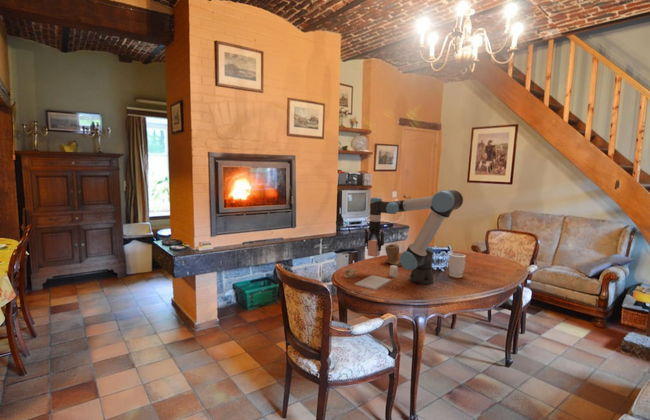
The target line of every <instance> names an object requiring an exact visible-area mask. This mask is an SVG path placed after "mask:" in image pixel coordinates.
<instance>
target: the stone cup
mask: <svg viewBox="0 0 650 420" xmlns="http://www.w3.org/2000/svg"><path fill="white" fill-rule="evenodd" d="M385 254H386V256H387V259H386V260H385V262H386V263H387V264H390V265H395V266H398V267H403V266H402V265H401V262H400V258H399V257H400V246H399V245H398V244H387V245H385Z"/></svg>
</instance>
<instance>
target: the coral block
mask: <svg viewBox="0 0 650 420" xmlns="http://www.w3.org/2000/svg"><path fill="white" fill-rule="evenodd" d="M377 246H378V242H377V239H371V240H369V241H368V249H367V256H368V257H374V258H376V257H378V256H377Z"/></svg>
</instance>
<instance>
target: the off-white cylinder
mask: <svg viewBox="0 0 650 420" xmlns="http://www.w3.org/2000/svg"><path fill="white" fill-rule="evenodd" d="M398 267H399V266H397V265H393V264H390V265H389V278H393V279H394V278H395V279H396V278H398Z"/></svg>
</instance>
